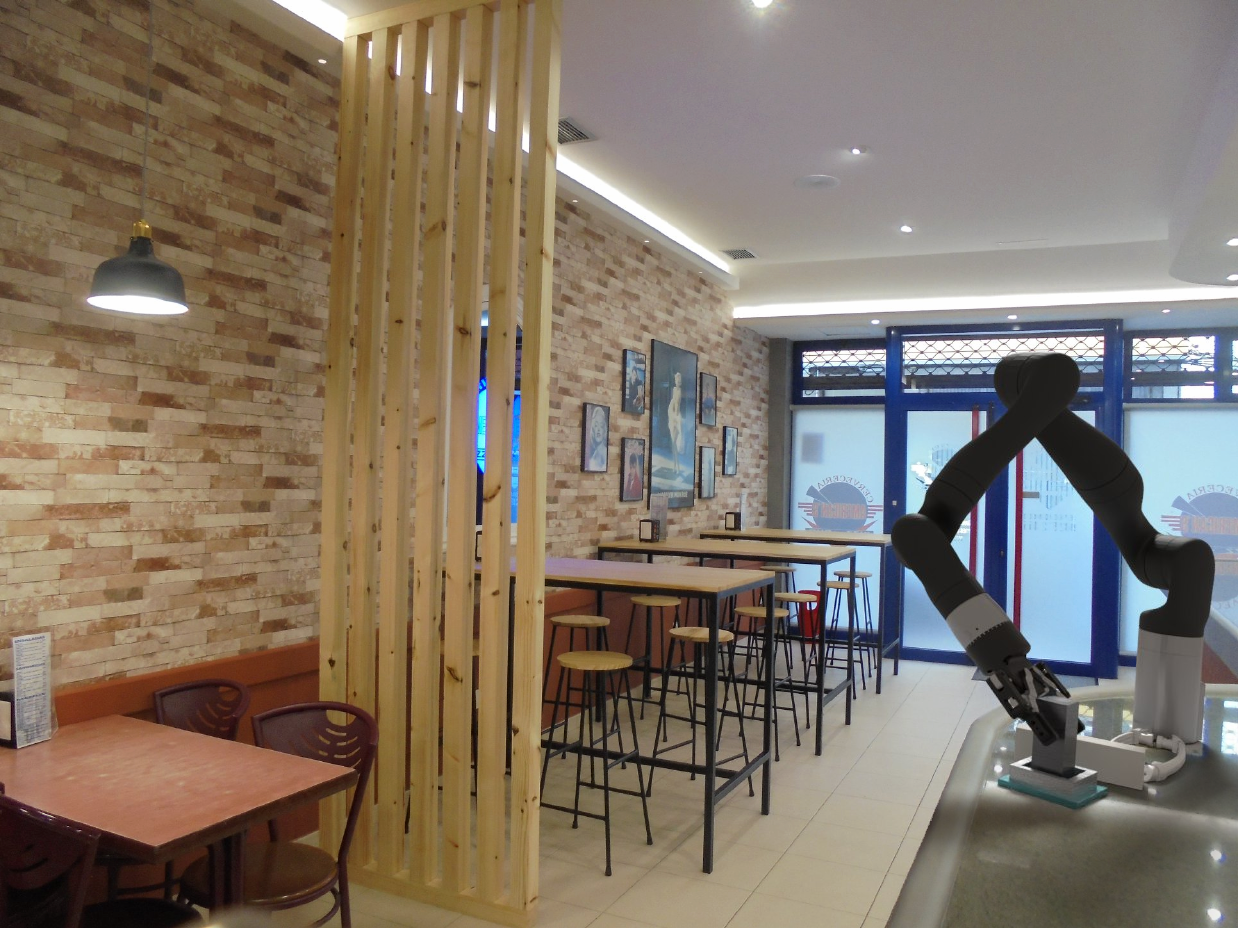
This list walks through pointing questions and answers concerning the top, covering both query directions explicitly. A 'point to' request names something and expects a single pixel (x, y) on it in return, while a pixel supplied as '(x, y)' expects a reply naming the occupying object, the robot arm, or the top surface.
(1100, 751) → the door edge
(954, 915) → the top surface
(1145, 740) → the door handle
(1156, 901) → the top surface
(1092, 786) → the keeper
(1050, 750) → the block
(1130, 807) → the top surface
